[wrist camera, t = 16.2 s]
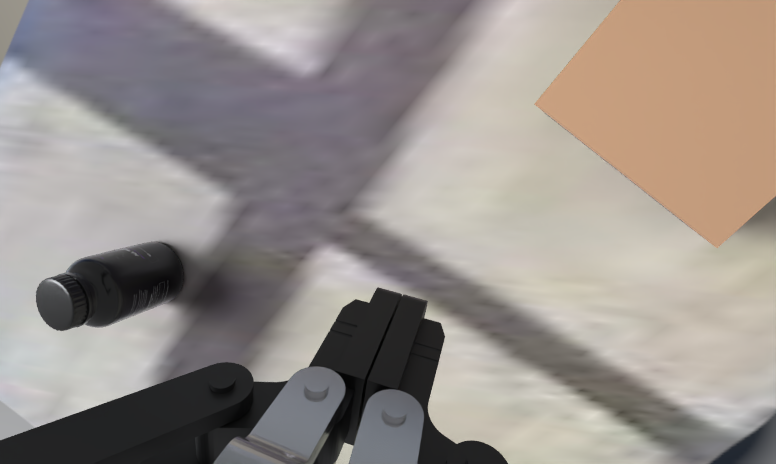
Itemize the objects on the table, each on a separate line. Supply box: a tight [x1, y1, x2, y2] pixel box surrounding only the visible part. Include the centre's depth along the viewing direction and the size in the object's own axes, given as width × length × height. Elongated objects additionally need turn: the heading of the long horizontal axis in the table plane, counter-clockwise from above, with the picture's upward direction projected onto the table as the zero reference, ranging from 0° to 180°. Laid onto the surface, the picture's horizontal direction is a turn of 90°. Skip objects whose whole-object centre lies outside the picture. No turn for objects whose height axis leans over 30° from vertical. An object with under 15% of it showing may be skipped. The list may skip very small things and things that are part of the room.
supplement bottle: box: [36, 242, 183, 331], centre depth 49 cm, size 7×7×12 cm
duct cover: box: [535, 0, 776, 248], centre depth 28 cm, size 14×16×1 cm
